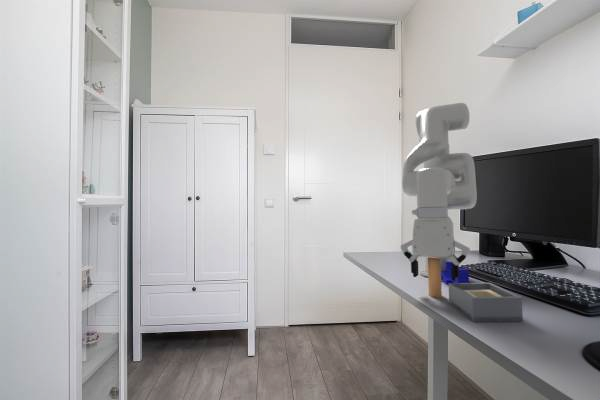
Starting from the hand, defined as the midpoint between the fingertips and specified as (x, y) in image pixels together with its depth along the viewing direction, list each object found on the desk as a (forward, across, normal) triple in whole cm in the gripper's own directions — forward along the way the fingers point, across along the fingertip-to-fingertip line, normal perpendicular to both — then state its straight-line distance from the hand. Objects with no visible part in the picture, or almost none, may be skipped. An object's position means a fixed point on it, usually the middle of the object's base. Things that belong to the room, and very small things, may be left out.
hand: (434, 277), depth 84 cm
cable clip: (+5, +3, +14) cm, 15 cm away
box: (+5, +11, -8) cm, 15 cm away
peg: (+5, 0, 0) cm, 5 cm away
